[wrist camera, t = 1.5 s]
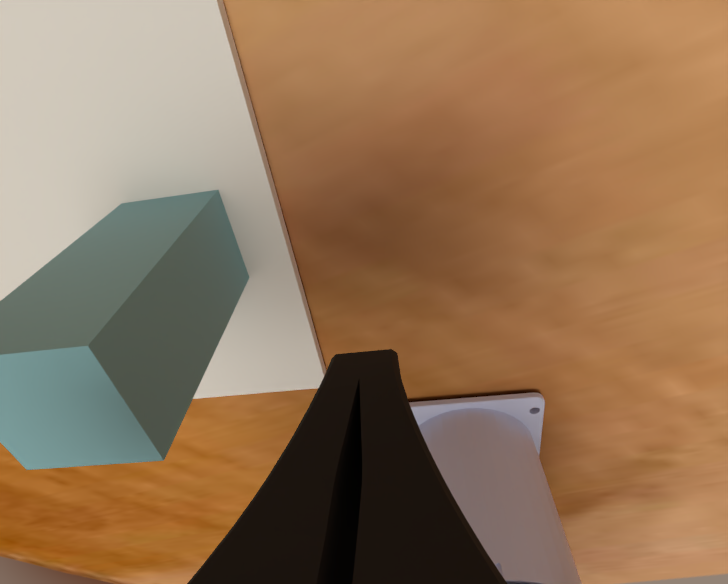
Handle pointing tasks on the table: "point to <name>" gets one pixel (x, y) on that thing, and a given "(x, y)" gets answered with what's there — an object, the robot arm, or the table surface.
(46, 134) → the white mat
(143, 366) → the teal block
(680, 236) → the table surface
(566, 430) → the table surface
